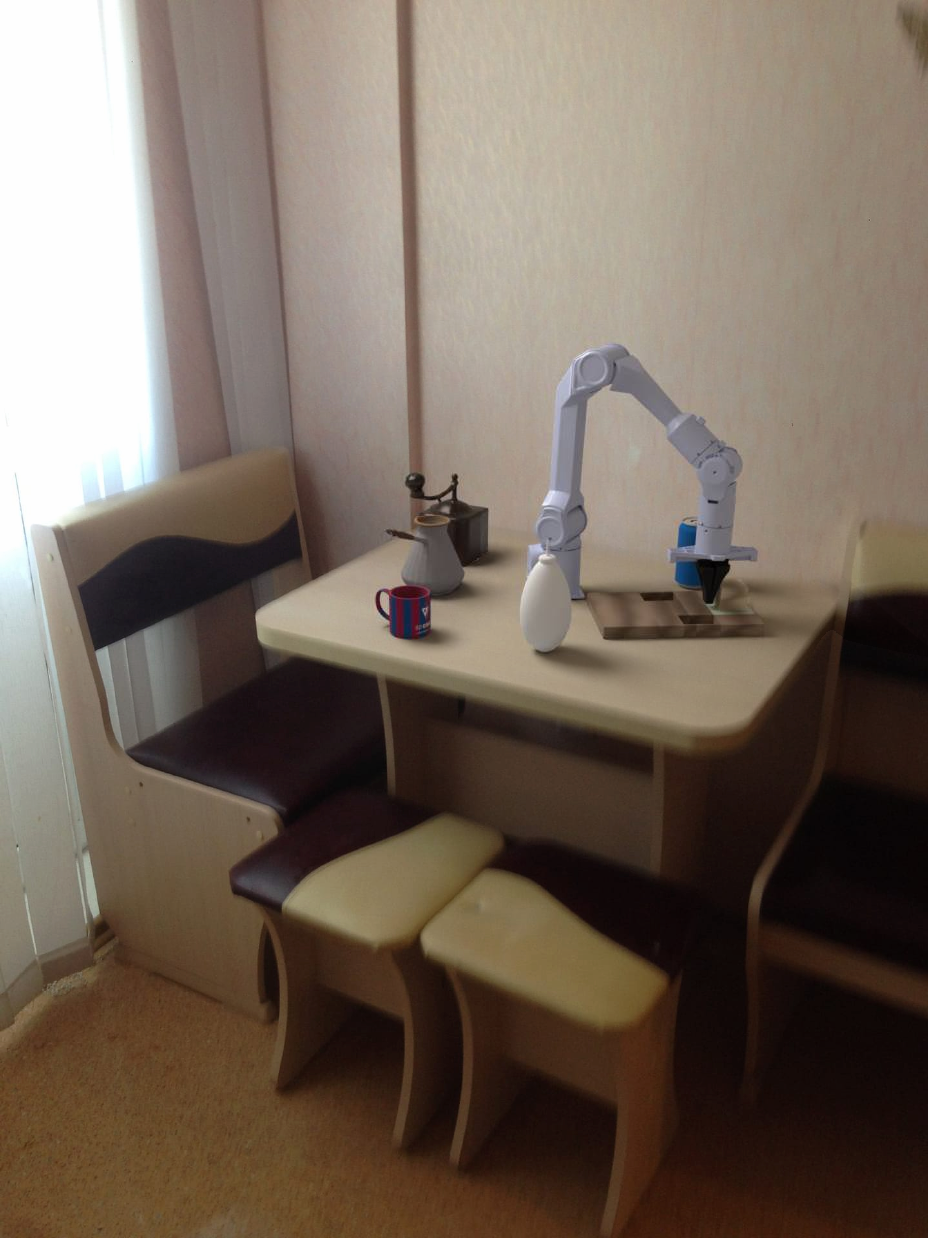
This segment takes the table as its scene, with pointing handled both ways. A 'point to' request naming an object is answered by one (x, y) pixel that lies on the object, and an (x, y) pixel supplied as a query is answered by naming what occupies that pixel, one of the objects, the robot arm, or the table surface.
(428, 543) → the coffee pot
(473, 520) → the coffee grinder
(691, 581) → the beverage can
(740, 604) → the block
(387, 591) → the mug
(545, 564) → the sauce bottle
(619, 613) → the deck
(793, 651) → the table surface
